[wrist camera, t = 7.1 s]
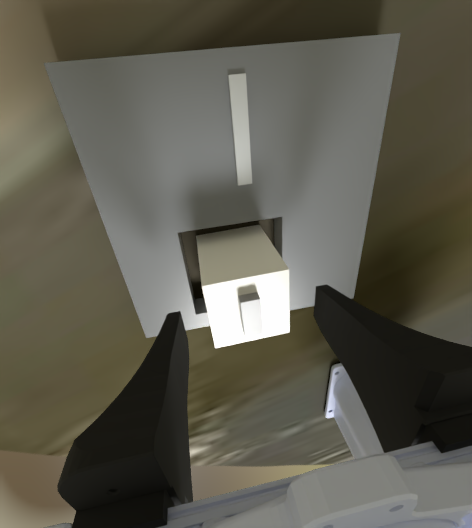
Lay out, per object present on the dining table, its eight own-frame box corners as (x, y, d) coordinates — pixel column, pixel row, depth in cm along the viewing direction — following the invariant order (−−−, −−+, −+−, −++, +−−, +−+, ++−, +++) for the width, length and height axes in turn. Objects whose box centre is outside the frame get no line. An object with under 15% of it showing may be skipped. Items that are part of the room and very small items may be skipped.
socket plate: (341, 285, 22) (354, 299, 21) (149, 320, 21) (146, 339, 19) (377, 40, 14) (403, 32, 12) (60, 68, 12) (41, 62, 11)
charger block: (263, 276, 21) (293, 339, 15) (206, 287, 20) (216, 356, 15) (259, 224, 18) (293, 275, 13) (196, 235, 18) (202, 293, 12)
